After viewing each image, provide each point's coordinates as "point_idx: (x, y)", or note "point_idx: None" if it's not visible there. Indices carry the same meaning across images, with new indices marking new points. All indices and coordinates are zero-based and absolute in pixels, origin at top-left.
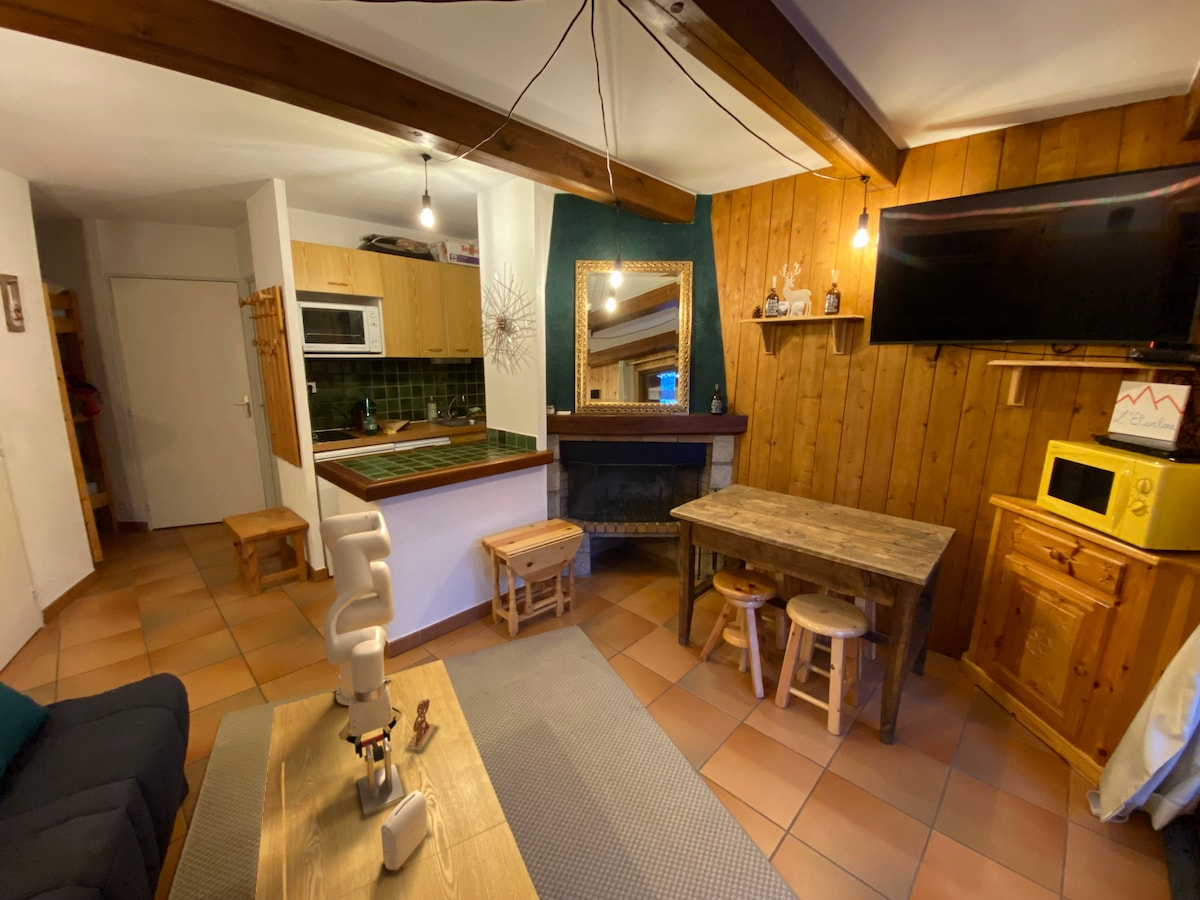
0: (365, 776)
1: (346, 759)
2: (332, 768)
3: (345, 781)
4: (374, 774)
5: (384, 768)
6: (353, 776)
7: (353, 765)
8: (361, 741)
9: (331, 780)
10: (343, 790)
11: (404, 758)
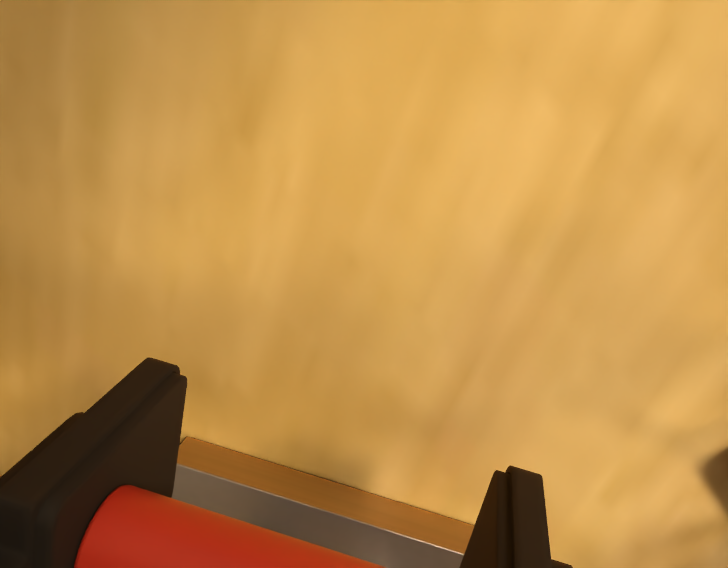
0: (231, 487)
1: (171, 67)
2: (32, 88)
3: (108, 339)
4: (302, 525)
5: (399, 540)
6: (176, 340)
7: (209, 212)
8: (83, 554)
9: (10, 236)
10: (79, 411)
11: (629, 509)
